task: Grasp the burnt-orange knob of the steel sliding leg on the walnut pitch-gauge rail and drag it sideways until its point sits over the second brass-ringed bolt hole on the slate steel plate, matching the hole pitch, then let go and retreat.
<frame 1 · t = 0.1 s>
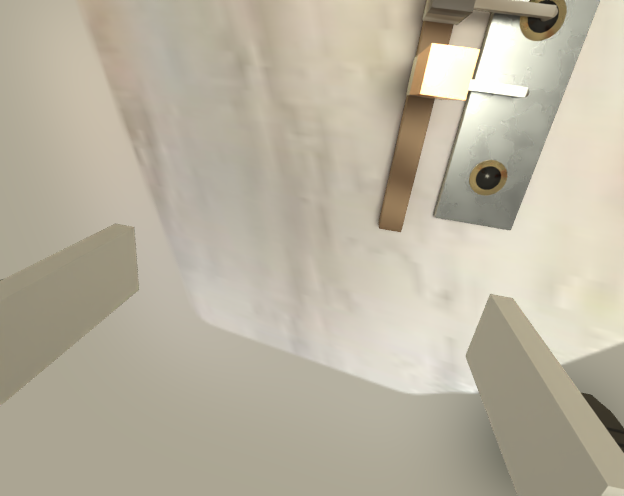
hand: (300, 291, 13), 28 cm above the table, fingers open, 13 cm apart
bolt plate: (509, 104, 34), on the table
gauge rail: (420, 91, 35), on the table
sliding leg: (482, 83, 28), point 7 cm above the table, slide at 6.0 cm
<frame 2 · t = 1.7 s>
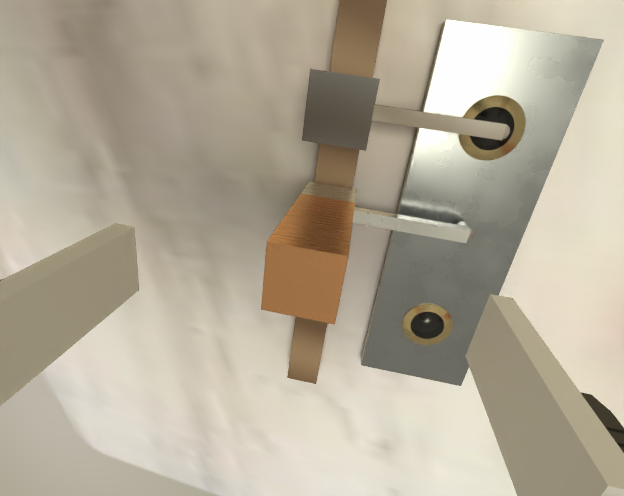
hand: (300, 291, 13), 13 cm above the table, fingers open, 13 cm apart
bolt plate: (451, 233, 24), on the table
gauge rail: (330, 212, 25), on the table
sliding leg: (391, 246, 18), point 7 cm above the table, slide at 6.0 cm
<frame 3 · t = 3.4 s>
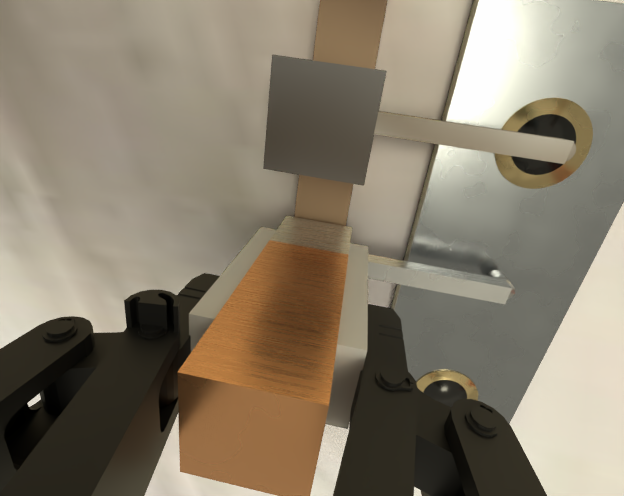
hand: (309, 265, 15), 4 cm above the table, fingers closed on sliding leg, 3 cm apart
bolt plate: (479, 281, 18), on the table
gauge rail: (318, 251, 19), on the table
sliding leg: (402, 325, 12), point 7 cm above the table, slide at 6.0 cm, touching gripper
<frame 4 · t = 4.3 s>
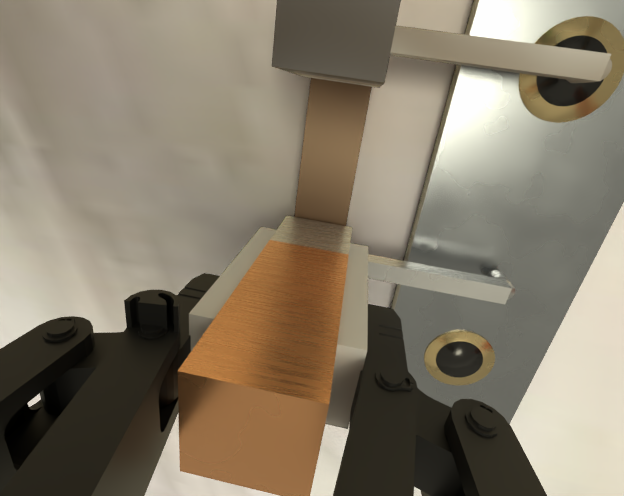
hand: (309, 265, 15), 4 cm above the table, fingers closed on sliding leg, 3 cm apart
bolt plate: (497, 232, 17), on the table
gauge rail: (325, 202, 18), on the table
sliding leg: (402, 324, 12), point 7 cm above the table, slide at 8.7 cm, touching gripper
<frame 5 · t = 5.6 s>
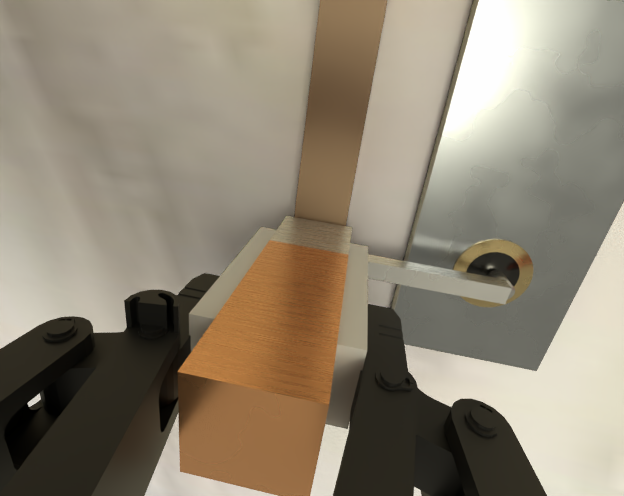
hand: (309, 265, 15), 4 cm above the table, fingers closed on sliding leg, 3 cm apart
bolt plate: (539, 120, 15), on the table
gauge rail: (343, 91, 16), on the table
sliding leg: (402, 325, 12), point 7 cm above the table, slide at 13.9 cm, touching gripper
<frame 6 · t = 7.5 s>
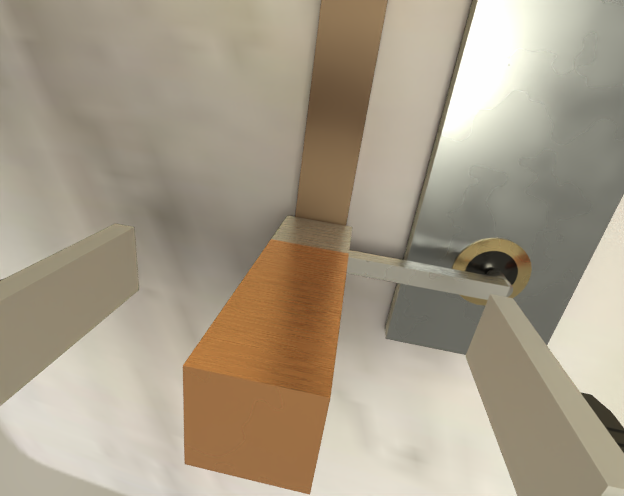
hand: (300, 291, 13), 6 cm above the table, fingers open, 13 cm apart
bolt plate: (537, 120, 15), on the table
gauge rail: (343, 91, 16), on the table
sliding leg: (401, 322, 12), point 7 cm above the table, slide at 14.0 cm
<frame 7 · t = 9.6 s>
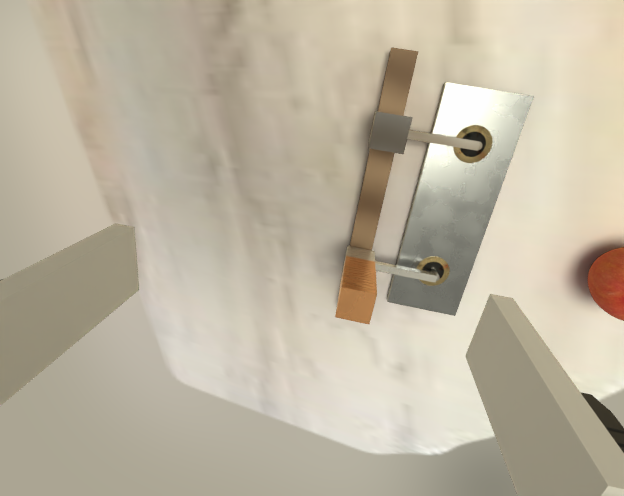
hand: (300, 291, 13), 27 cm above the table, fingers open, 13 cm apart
apple: (608, 266, 38), on the table
bolt plate: (449, 209, 38), on the table
gauge rail: (371, 195, 39), on the table
sliding leg: (394, 286, 35), point 7 cm above the table, slide at 14.0 cm
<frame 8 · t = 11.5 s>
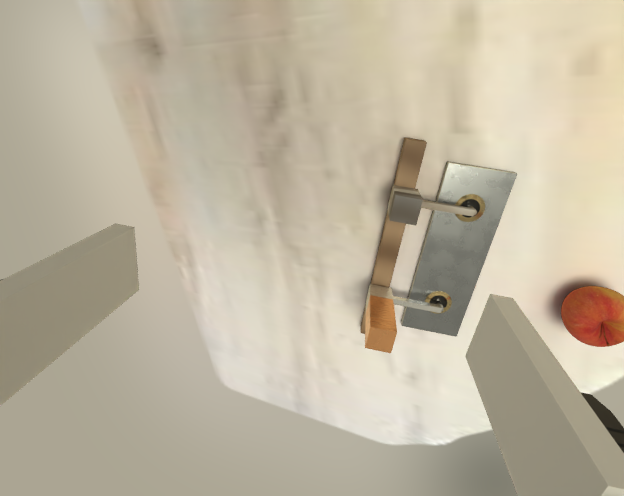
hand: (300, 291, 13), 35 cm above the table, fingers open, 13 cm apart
apple: (578, 298, 48), on the table
bolt plate: (451, 255, 48), on the table
gauge rail: (388, 243, 49), on the table
sliding leg: (408, 319, 45), point 7 cm above the table, slide at 14.0 cm
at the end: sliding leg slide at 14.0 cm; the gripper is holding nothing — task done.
